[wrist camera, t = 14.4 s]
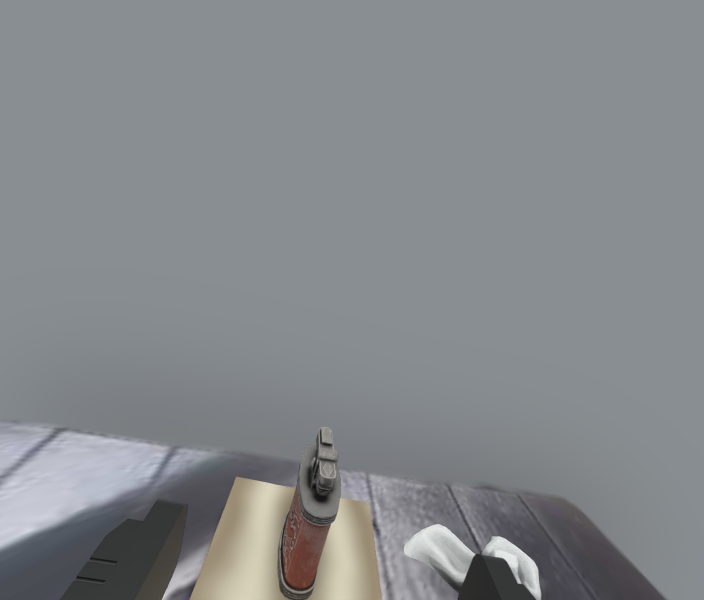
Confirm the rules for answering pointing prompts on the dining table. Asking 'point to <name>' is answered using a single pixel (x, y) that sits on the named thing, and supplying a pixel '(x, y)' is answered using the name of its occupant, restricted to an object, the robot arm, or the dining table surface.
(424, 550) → the cloth
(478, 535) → the dining table surface
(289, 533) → the lighter
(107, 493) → the dining table surface
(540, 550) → the dining table surface
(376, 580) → the base block
